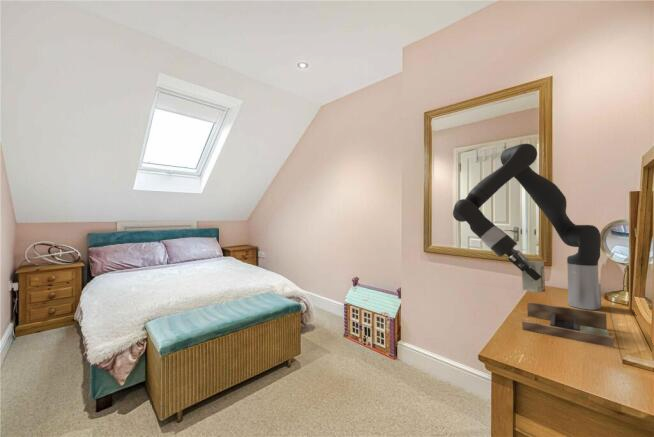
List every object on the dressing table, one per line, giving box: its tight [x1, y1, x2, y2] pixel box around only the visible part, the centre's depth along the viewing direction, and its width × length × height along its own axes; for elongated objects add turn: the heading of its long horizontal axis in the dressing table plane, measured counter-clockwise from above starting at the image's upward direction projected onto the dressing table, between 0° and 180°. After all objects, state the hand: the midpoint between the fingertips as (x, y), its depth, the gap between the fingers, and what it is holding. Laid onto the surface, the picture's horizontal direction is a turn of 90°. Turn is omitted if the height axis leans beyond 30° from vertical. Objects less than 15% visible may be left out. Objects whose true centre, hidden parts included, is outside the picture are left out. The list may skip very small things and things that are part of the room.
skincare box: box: [521, 260, 546, 293], centre depth 94 cm, size 5×4×10 cm
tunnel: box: [521, 301, 615, 348], centre depth 89 cm, size 20×18×5 cm
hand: (539, 277), depth 93 cm, fingers closed on skincare box, 6 cm apart
